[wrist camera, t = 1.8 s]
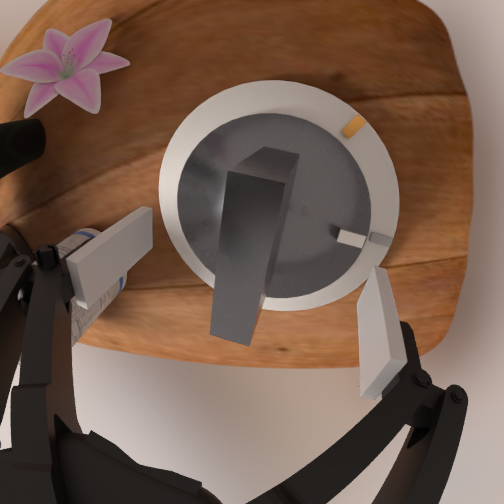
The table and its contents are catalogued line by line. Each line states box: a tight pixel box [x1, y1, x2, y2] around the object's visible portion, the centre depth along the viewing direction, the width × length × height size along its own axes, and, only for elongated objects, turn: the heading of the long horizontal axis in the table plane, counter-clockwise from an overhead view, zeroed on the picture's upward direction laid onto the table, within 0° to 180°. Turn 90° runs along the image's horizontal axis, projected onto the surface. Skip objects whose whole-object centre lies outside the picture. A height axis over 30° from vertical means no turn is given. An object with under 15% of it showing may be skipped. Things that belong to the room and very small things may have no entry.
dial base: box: [159, 80, 399, 311], centre depth 23 cm, size 20×20×2 cm
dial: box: [177, 113, 371, 346], centre depth 18 cm, size 15×15×9 cm
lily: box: [0, 19, 130, 118], centre depth 18 cm, size 12×12×10 cm
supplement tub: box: [18, 228, 127, 347], centre depth 26 cm, size 10×10×15 cm
